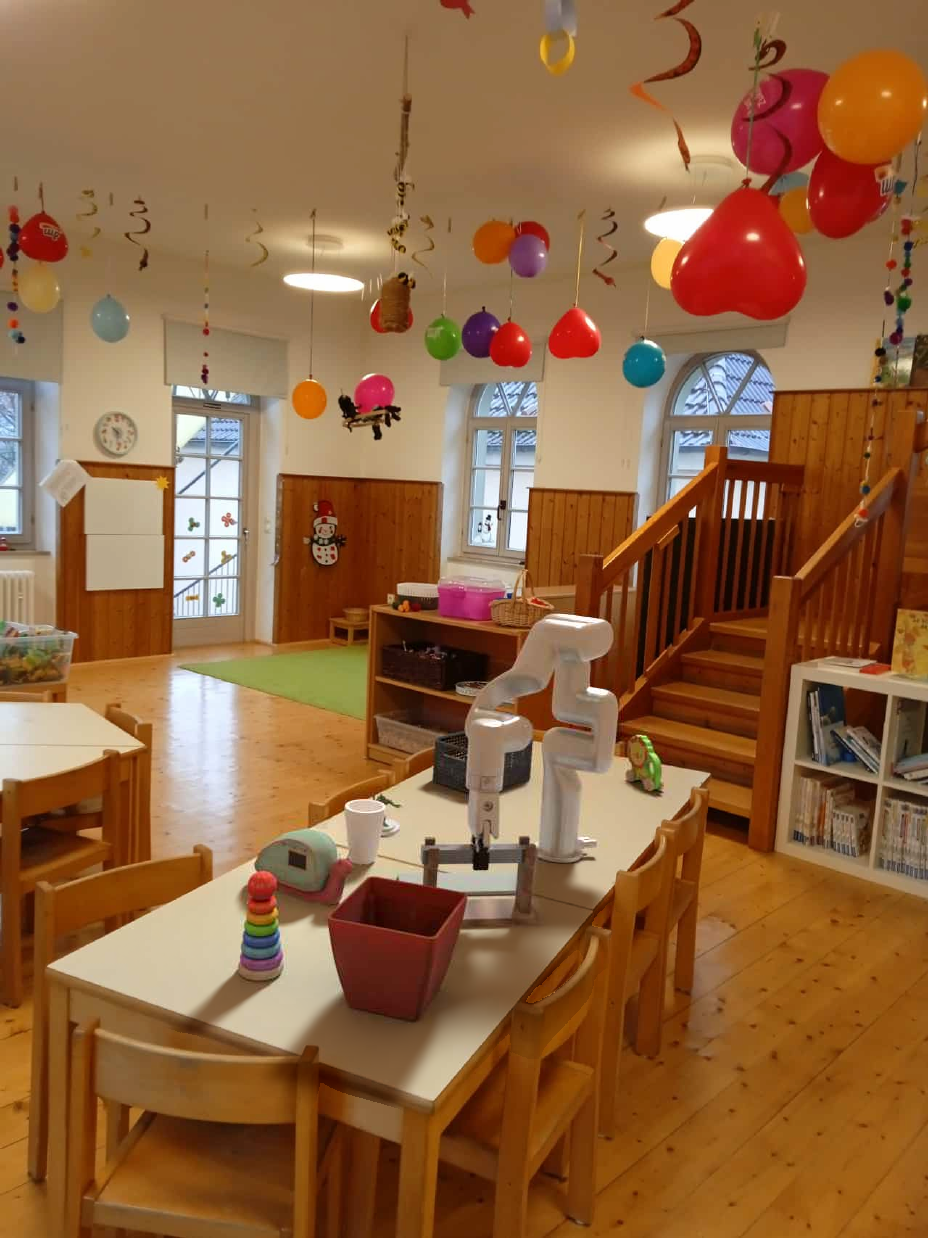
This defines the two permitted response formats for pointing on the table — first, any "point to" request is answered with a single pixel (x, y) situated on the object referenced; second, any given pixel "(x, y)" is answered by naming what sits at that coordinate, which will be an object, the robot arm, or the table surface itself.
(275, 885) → the stacking toy
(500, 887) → the mat
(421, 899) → the plant pot
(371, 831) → the foam cup
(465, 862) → the rail
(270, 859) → the toy snail
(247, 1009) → the table surface
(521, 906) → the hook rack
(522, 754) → the storage bin
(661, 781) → the toy lion
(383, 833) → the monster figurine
